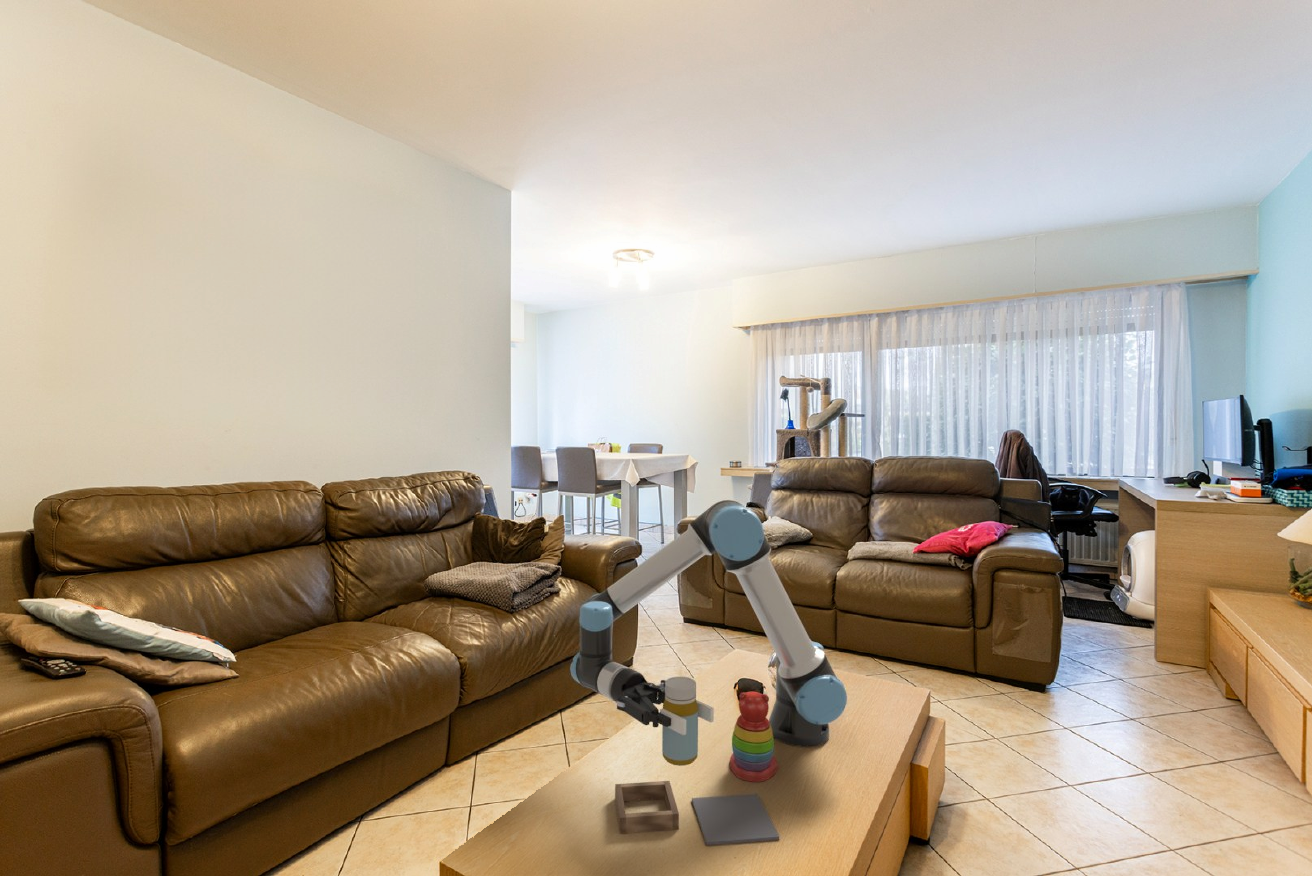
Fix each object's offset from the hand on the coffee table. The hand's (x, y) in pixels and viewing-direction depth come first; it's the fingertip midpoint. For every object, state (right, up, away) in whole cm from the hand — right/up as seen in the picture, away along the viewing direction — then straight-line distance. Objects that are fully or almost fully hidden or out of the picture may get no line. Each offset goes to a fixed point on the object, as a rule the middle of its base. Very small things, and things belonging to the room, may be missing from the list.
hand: (698, 721), depth 121 cm
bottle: (-3, -9, +4) cm, 10 cm away
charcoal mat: (+7, -21, +3) cm, 22 cm away
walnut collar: (-10, -21, +5) cm, 23 cm away
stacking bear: (+14, -21, +21) cm, 33 cm away
